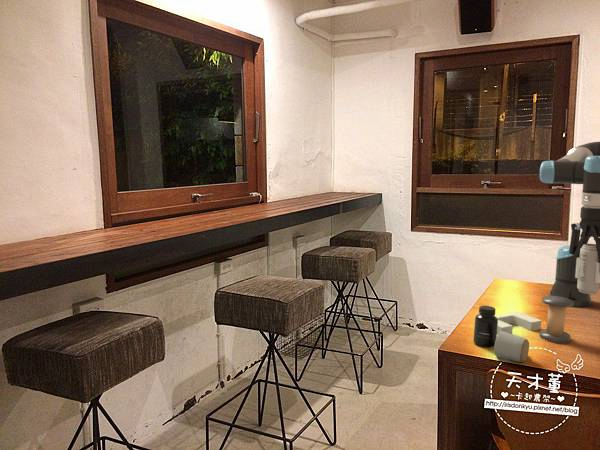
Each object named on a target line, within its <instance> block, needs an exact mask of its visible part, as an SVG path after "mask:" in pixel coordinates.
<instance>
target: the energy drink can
mask: <svg viewBox="0 0 600 450" xmlns="http://www.w3.org/2000/svg"><path fill="white" fill-rule="evenodd" d="M598 261H599V257H598V252H597V247H596V243H587V244H583V246H582V248H581V249H580V259H579V271H578V283H577V288H578V289H579V292H582V293H586V294H590V295H596V294H597V293H598V292H600V283H595V274H596V263H597V262H598Z"/></svg>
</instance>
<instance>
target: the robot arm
mask: <svg viewBox="0 0 600 450" xmlns="http://www.w3.org/2000/svg"><path fill="white" fill-rule="evenodd" d="M539 180H540V182H541V183H543V184H567V185H569V184H570V185H582V193H581V208H580V221H579V222H577V223H576V222H575V223H571V225H570V227H571V235H570V236H571V237H570V244H569V245H564V246H560V247H559V248H558V249H557V253H556V254H557V255H556V267H555V279H554V284H553V285H552V288H551V290H550V291H549V295H548V296H559V297H564V298H568V299H571V300H572V301H573V306H572V307H577V308H579V307H580V308H581V307H589V306H591V304H592V297H591V294H586V293H582V292H579V289H578V288H577V283H578V271H579V259H580V249H581V248H582V246H583V244H589V243H588V242H589V240H590V238H591V237H592V238H593V240H594V242H595V244H596V247H597V252H598V257H599V261H598V262H597V263H596V274H595V283H600V141H592V142H587V143H584V144H581V145H577V146H575V147H573V148H572V149H570V150H568V152H567V154H566V155H565V156H562V157H561V158H560V159H557V160H544V161H542V162H541V164H540V167H539Z"/></svg>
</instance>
